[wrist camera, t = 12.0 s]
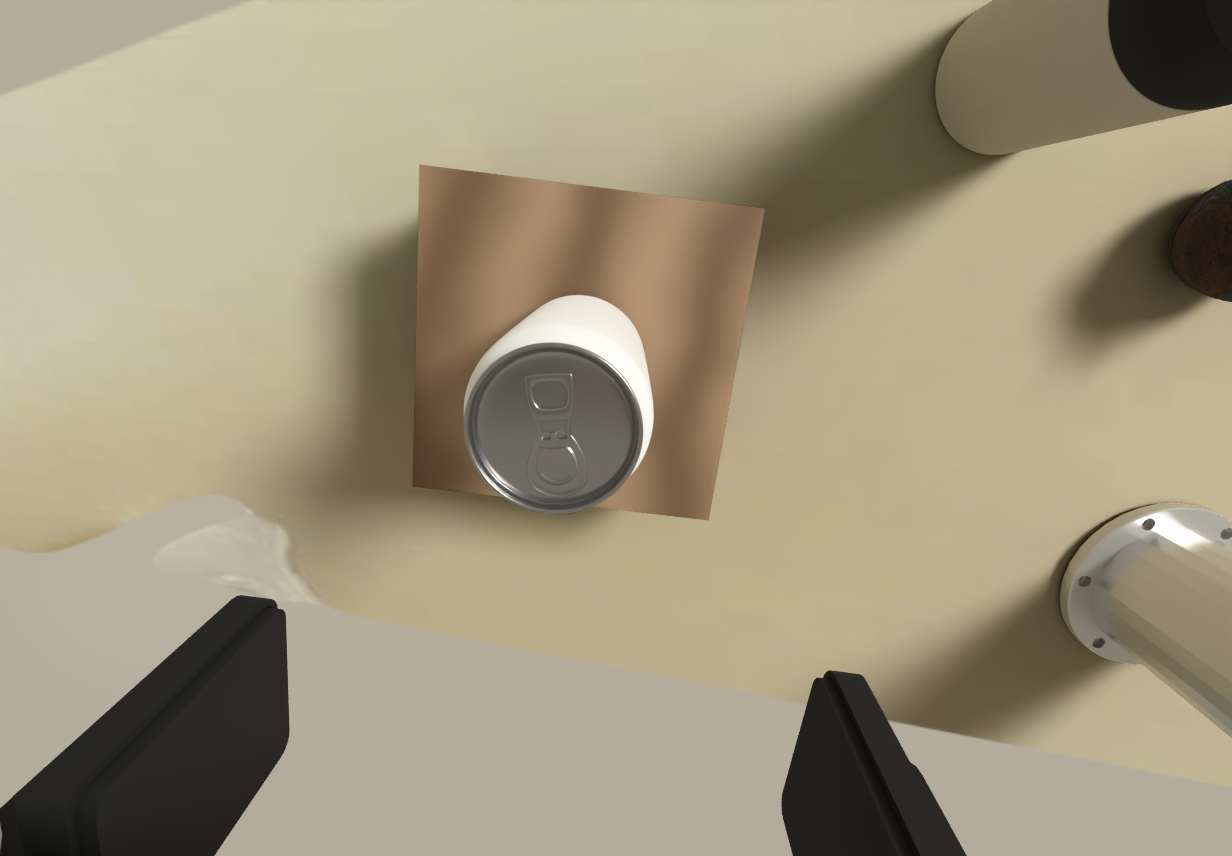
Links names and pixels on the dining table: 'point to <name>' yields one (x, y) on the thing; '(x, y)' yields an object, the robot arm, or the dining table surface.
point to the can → (561, 407)
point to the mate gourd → (1205, 244)
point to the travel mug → (1080, 69)
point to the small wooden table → (592, 266)
